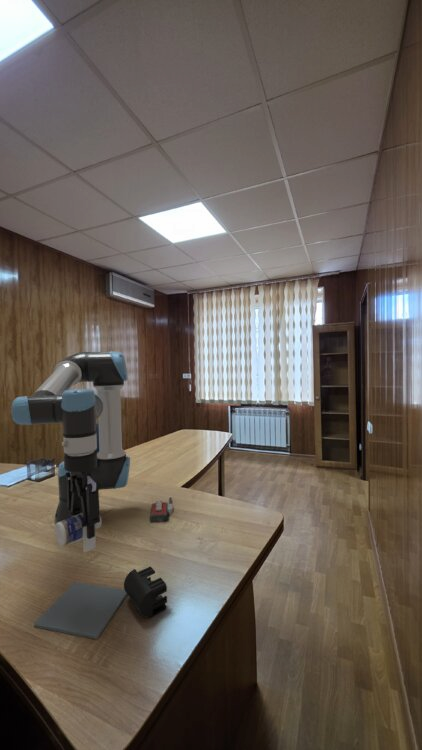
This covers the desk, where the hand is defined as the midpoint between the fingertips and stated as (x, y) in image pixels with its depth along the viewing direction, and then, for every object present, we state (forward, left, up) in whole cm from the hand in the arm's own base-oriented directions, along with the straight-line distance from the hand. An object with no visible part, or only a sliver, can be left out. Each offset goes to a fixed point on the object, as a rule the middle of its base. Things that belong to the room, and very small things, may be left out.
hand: (84, 544), depth 77 cm
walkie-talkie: (0, +49, -15) cm, 52 cm away
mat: (+1, -2, -15) cm, 15 cm away
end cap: (+15, +2, -15) cm, 21 cm away
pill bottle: (-3, -5, +5) cm, 8 cm away
